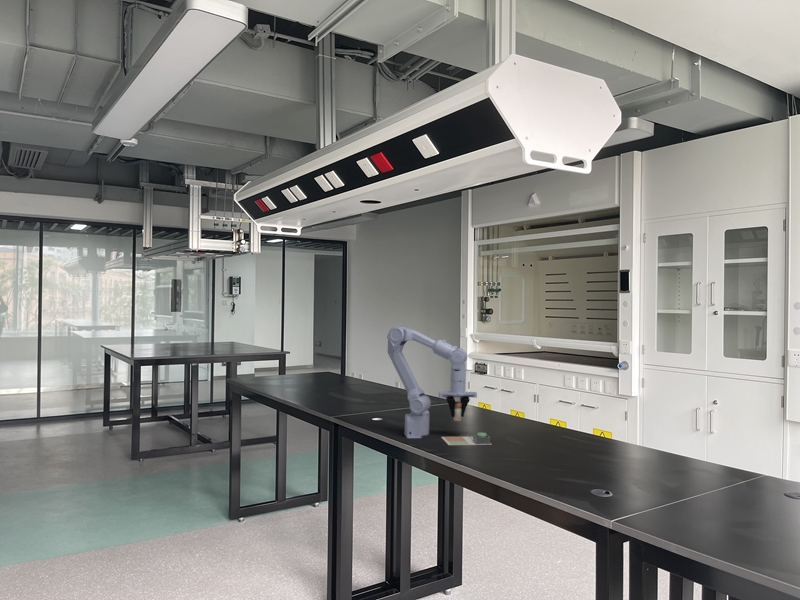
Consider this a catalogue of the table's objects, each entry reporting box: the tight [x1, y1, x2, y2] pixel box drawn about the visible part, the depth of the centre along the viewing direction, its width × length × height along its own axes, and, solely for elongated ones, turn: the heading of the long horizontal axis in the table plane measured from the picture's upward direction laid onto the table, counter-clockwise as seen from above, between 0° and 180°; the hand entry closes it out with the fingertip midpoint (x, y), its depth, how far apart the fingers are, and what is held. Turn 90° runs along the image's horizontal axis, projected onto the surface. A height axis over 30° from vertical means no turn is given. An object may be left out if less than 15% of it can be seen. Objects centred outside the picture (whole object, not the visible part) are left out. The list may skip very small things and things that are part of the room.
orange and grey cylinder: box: [452, 401, 462, 422], centre depth 219 cm, size 3×3×7 cm
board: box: [441, 436, 493, 446], centre depth 213 cm, size 16×13×1 cm
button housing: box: [472, 434, 491, 444], centre depth 210 cm, size 5×5×2 cm
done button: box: [476, 431, 487, 437], centre depth 210 cm, size 3×3×2 cm
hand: (457, 416), depth 219 cm, fingers closed on orange and grey cylinder, 3 cm apart
